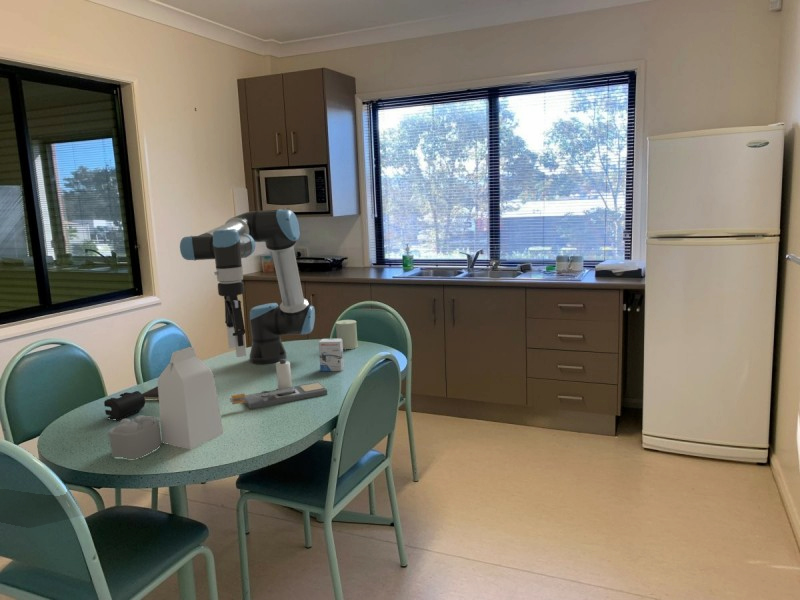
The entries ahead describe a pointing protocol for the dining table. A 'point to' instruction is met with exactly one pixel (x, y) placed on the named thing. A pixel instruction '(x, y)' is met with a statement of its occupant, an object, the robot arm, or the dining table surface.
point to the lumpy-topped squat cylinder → (135, 437)
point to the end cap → (124, 405)
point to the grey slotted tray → (299, 393)
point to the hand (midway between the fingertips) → (237, 351)
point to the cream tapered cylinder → (347, 333)
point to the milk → (188, 401)
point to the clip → (256, 395)
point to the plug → (284, 376)
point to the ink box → (331, 355)
